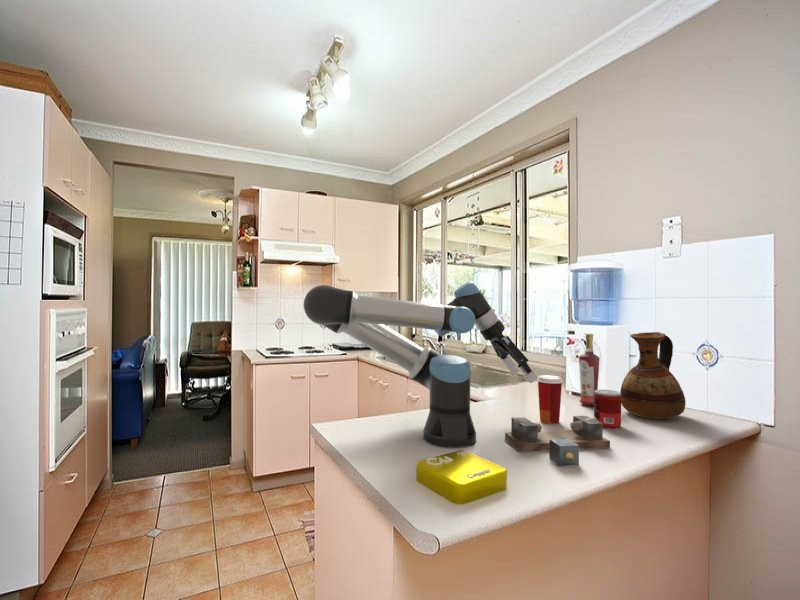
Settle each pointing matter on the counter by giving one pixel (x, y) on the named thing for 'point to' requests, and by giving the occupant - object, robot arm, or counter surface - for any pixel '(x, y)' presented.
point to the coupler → (564, 452)
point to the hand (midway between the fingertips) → (524, 376)
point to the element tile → (461, 476)
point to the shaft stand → (556, 434)
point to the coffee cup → (549, 398)
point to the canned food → (608, 408)
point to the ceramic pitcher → (652, 380)
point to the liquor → (588, 373)
